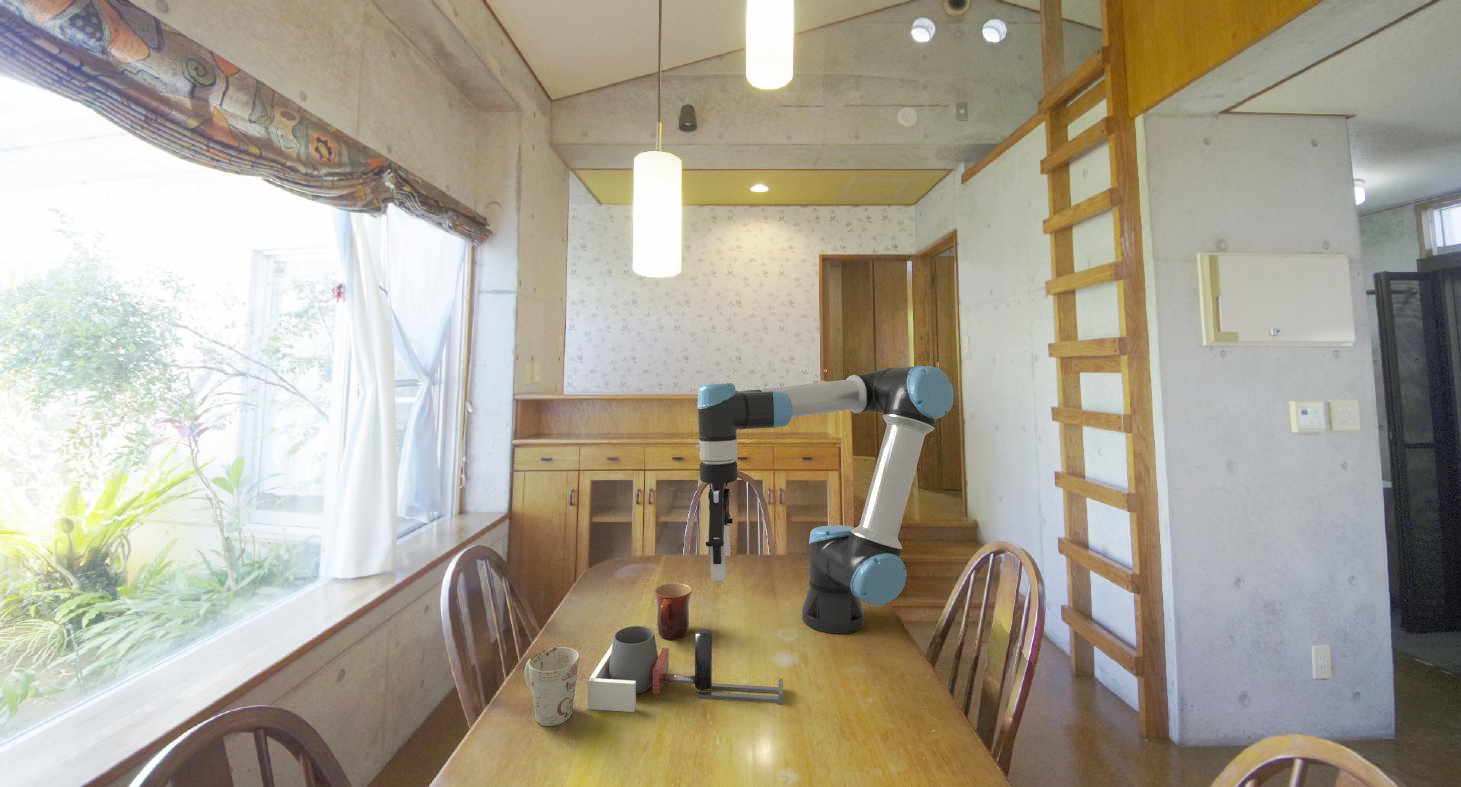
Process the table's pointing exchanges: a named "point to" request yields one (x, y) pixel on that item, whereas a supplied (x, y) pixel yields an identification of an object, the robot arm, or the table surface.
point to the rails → (745, 697)
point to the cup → (634, 656)
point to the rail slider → (702, 665)
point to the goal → (610, 689)
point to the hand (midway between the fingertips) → (721, 567)
